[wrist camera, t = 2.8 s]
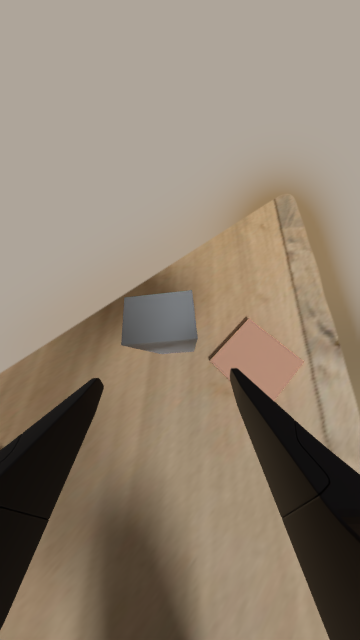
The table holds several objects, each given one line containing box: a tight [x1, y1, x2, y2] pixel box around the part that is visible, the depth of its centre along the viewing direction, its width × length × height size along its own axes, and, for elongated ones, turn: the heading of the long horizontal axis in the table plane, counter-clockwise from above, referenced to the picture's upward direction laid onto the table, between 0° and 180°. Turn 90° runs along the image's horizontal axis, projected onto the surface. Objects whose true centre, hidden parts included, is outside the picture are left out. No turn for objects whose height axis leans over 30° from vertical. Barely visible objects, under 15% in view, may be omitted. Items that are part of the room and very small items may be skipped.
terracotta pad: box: [210, 319, 304, 401], centre depth 18 cm, size 9×9×1 cm
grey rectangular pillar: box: [121, 290, 198, 354], centre depth 14 cm, size 4×5×12 cm
